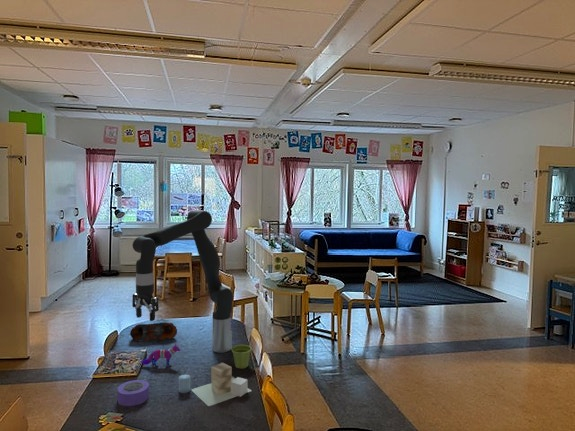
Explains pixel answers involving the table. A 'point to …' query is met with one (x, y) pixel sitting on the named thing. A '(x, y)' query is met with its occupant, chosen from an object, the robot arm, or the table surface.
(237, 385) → the block
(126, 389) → the tape roll
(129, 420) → the table surface
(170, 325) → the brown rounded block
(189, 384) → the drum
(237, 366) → the plant pot
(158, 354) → the toy dog
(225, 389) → the tower base
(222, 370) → the tower top
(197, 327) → the table surface
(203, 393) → the mat
